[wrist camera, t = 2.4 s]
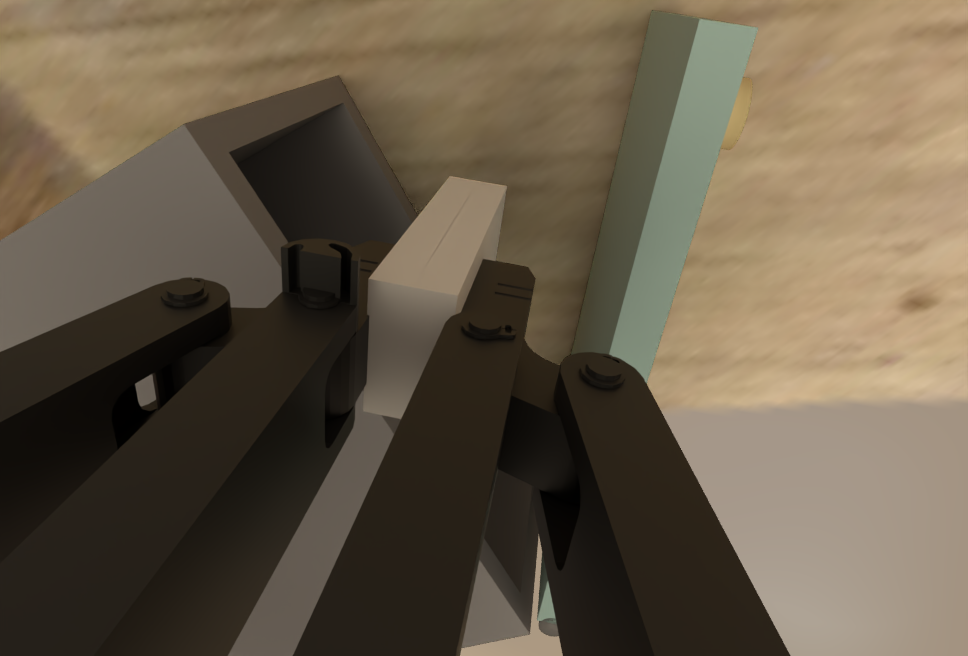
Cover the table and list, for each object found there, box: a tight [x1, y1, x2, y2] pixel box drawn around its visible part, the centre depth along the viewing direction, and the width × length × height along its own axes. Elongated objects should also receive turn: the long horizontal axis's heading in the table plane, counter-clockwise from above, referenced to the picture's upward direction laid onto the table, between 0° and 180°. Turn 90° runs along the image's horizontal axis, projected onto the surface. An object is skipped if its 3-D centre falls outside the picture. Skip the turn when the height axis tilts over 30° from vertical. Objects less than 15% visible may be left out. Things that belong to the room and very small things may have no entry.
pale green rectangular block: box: [537, 10, 758, 636], centre depth 22 cm, size 3×20×10 cm, turn 173°
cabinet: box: [0, 76, 539, 656], centre depth 26 cm, size 14×20×11 cm
